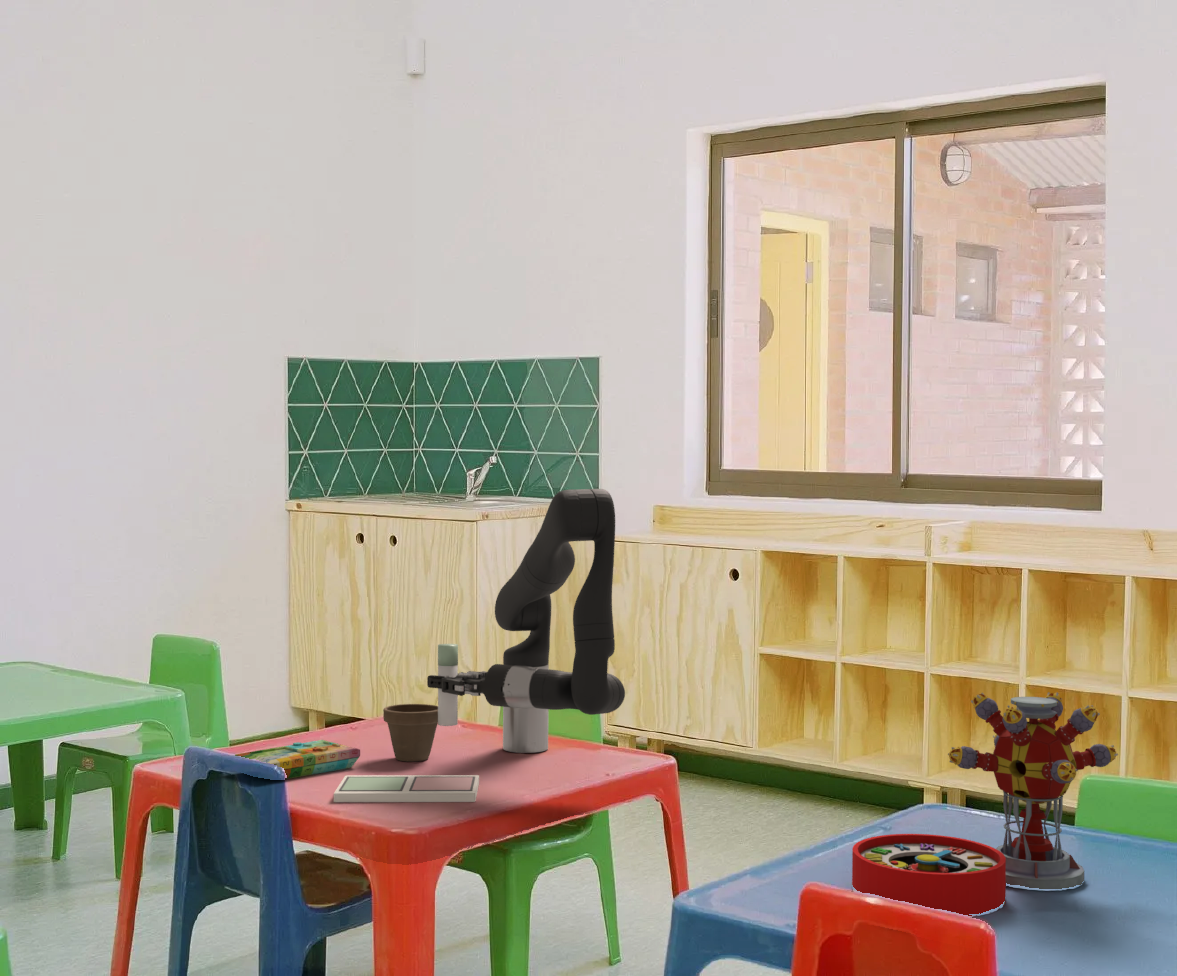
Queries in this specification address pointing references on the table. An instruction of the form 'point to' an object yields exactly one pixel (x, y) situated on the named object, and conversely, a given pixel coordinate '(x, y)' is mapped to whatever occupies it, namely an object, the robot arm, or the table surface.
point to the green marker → (445, 700)
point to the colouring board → (407, 788)
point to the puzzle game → (307, 757)
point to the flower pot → (411, 730)
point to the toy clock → (931, 871)
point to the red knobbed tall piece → (1035, 781)
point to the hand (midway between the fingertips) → (434, 679)
